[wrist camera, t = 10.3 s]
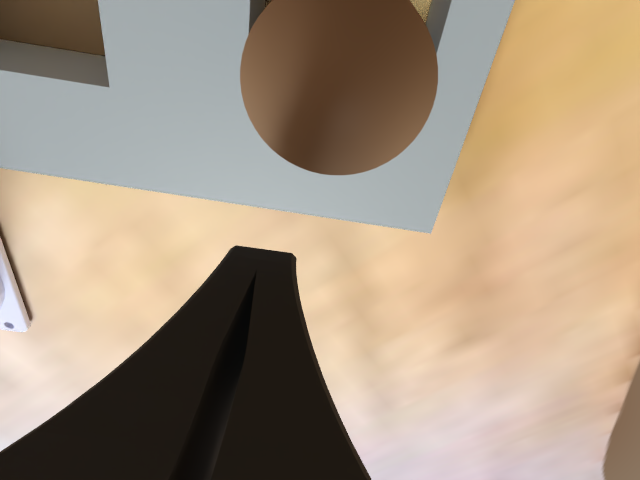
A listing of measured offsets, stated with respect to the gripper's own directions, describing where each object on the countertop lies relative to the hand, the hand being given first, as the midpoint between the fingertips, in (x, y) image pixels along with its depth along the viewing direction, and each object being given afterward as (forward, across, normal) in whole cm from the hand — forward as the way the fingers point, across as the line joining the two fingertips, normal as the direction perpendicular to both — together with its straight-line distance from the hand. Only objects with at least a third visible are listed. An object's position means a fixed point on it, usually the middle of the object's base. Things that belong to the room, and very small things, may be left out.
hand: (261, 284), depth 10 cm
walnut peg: (+10, -1, -4) cm, 11 cm away
